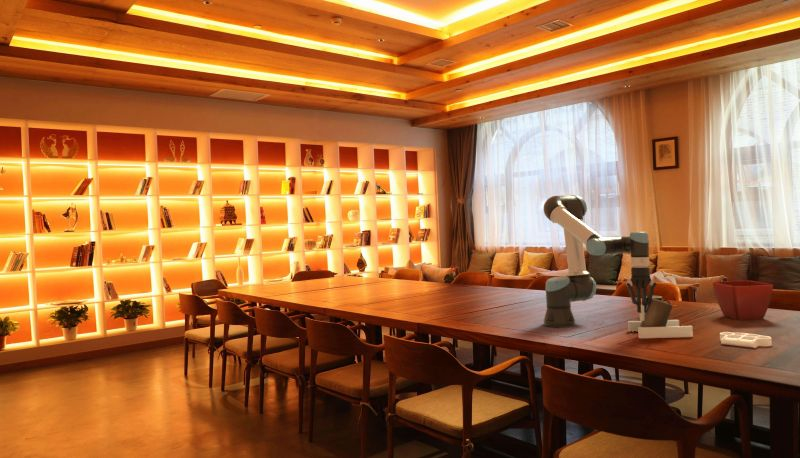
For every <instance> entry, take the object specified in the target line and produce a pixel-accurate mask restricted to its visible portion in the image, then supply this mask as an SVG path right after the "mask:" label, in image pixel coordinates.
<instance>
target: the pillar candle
mask: <svg viewBox="0 0 800 458" xmlns="http://www.w3.org/2000/svg"><path fill="white" fill-rule="evenodd" d="M663 300H664V299H663V298H662V301H660V300H657V299H653V298H652V300H651V304H648V306H647V308H646V313H644V321H642V322H641V325H640V327H666V324H667V321H668V320H669V318H670V315H671V312H672V309H673V306H674V305H673V304H671V303H670V304H669V303H668V302H667V301H664V302H663Z"/></svg>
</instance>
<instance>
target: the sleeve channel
mask: <svg viewBox="0 0 800 458" xmlns="http://www.w3.org/2000/svg"><path fill="white" fill-rule="evenodd" d="M641 322H642V321H641V320H630V321H629V320H628V321H627V331H628V332H629V333H631V331H632V332H634V331H636V332H635V333H637V332H638V333H637V335H638V339H658V338H660V339H664V338H665V339H667V338H670V339H671V338H693V337H694V332H693V325H681V326H680V320H679V319H668V321H667V324H666V327H640V325H641Z"/></svg>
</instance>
